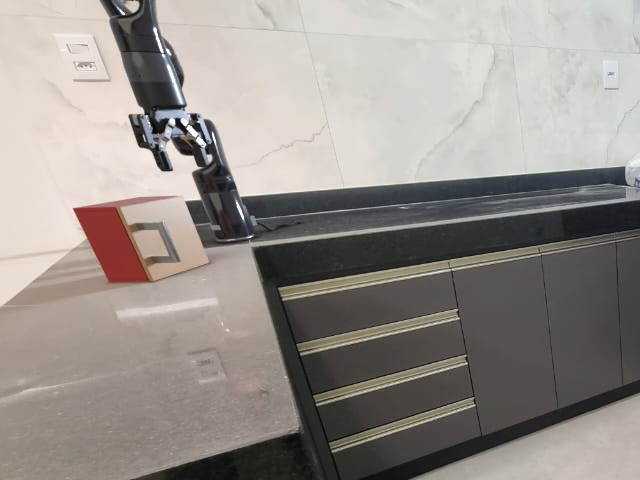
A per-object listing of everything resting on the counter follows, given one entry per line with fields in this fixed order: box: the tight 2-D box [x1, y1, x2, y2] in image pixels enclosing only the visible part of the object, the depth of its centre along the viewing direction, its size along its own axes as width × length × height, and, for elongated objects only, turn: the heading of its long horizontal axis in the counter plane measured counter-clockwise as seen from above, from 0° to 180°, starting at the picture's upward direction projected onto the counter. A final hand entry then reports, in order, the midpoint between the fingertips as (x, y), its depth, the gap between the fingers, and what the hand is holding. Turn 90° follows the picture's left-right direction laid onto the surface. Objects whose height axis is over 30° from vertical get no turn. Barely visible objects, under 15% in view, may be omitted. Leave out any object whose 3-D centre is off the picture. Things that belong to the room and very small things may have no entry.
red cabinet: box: [72, 195, 179, 283], centre depth 123 cm, size 10×16×17 cm, turn 175°
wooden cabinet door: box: [116, 195, 210, 282], centre depth 122 cm, size 7×16×16 cm, turn 175°
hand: (186, 169), depth 109 cm, fingers open, 8 cm apart
